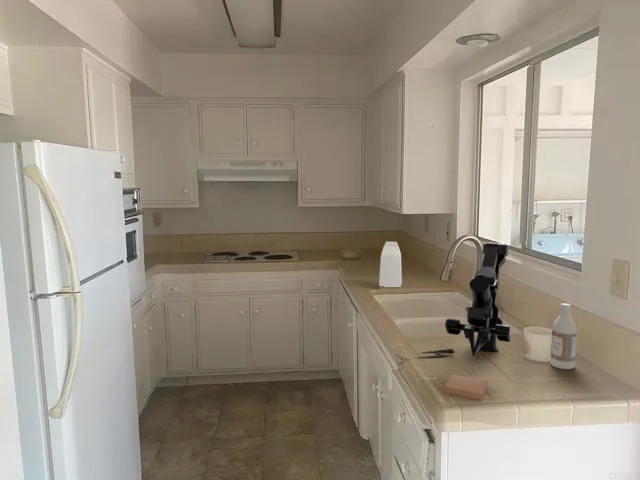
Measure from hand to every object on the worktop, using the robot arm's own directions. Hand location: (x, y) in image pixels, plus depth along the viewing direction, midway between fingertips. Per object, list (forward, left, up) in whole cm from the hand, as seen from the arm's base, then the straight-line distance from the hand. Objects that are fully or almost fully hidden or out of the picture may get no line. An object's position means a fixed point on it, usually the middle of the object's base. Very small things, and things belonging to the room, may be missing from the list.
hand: (473, 355), depth 145 cm
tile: (+4, -1, -6) cm, 8 cm away
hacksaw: (-15, -14, -8) cm, 22 cm away
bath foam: (-16, +29, -7) cm, 34 cm away
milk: (-127, -31, -7) cm, 131 cm away
